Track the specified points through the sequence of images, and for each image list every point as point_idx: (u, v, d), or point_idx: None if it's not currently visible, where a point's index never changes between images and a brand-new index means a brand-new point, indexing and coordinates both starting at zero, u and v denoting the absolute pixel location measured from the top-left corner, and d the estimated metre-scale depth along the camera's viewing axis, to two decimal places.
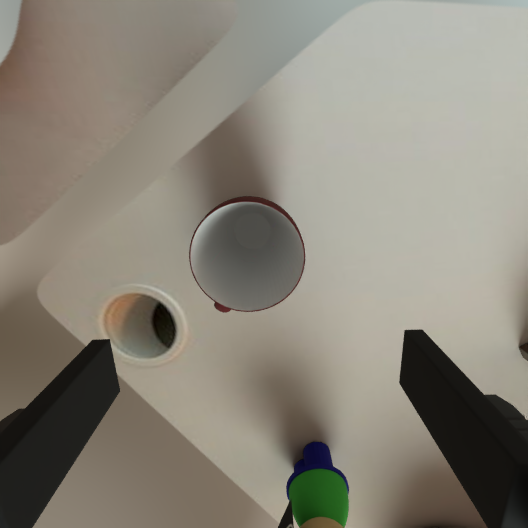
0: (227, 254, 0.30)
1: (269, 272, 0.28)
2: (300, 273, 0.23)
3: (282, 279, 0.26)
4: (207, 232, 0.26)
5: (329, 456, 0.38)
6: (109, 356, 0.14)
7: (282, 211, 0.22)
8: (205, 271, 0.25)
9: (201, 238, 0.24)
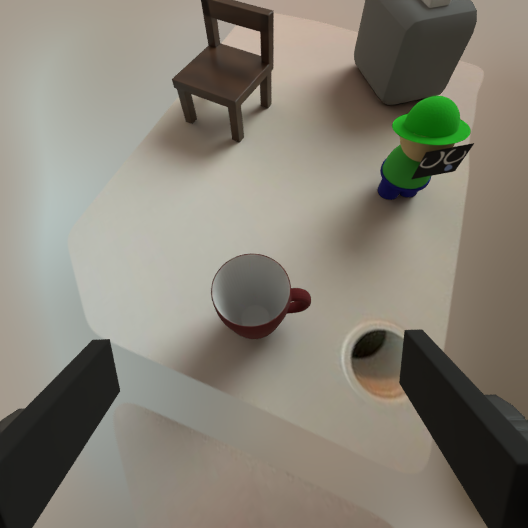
0: None
1: (267, 284, 0.38)
2: (243, 256, 0.34)
3: (261, 269, 0.36)
4: None
5: None
6: (109, 356, 0.14)
7: None
8: None
9: None
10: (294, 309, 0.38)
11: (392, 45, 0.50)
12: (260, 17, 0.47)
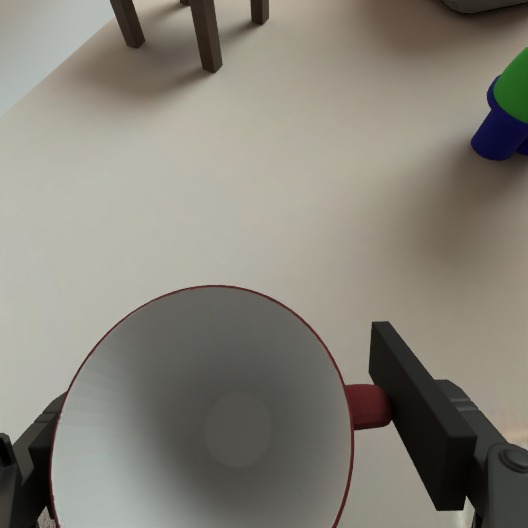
0: (290, 453, 0.14)
1: (266, 356, 0.15)
2: (185, 293, 0.11)
3: (247, 324, 0.13)
4: None
5: (481, 126, 0.26)
6: None
7: None
8: (317, 501, 0.10)
9: None
10: None
11: None
12: None
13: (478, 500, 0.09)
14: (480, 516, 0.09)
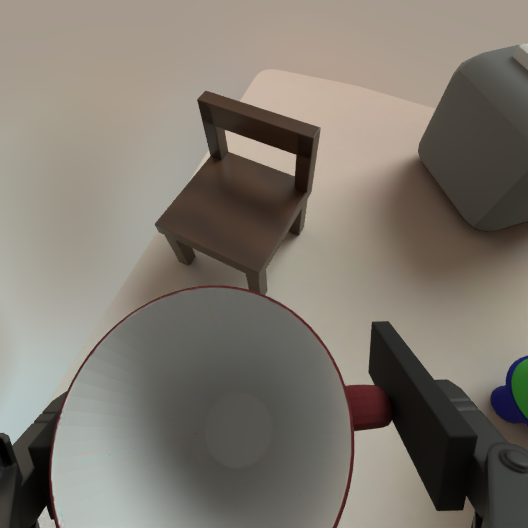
0: (290, 453, 0.14)
1: (266, 357, 0.15)
2: (185, 294, 0.11)
3: (247, 324, 0.13)
4: None
5: (500, 395, 0.30)
6: None
7: None
8: (317, 501, 0.10)
9: None
10: None
11: (507, 166, 0.31)
12: (298, 137, 0.28)
13: (478, 500, 0.09)
14: (480, 517, 0.09)
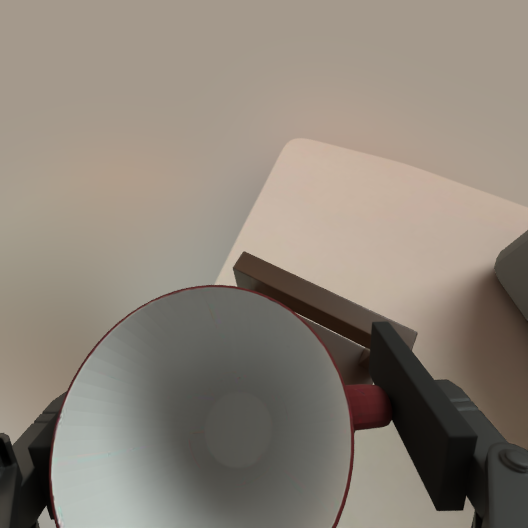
0: (290, 453, 0.14)
1: (266, 356, 0.15)
2: (185, 293, 0.11)
3: (247, 324, 0.13)
4: None
5: None
6: None
7: None
8: (317, 501, 0.10)
9: None
10: None
11: None
12: None
13: (478, 500, 0.09)
14: (480, 517, 0.09)
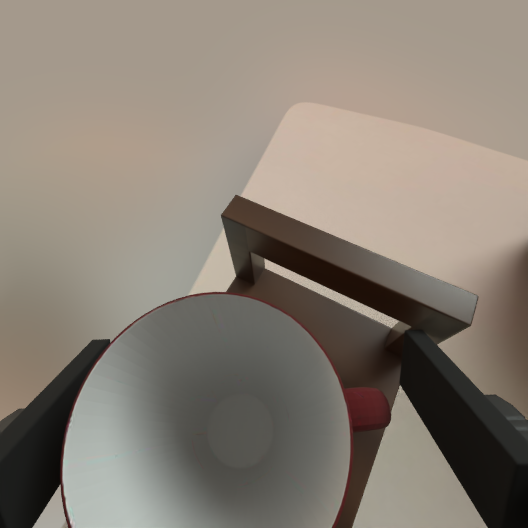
0: (291, 454, 0.15)
1: (268, 359, 0.15)
2: (189, 300, 0.11)
3: (249, 328, 0.13)
4: None
5: None
6: None
7: None
8: (317, 501, 0.10)
9: None
10: None
11: None
12: (430, 314, 0.14)
13: None
14: None
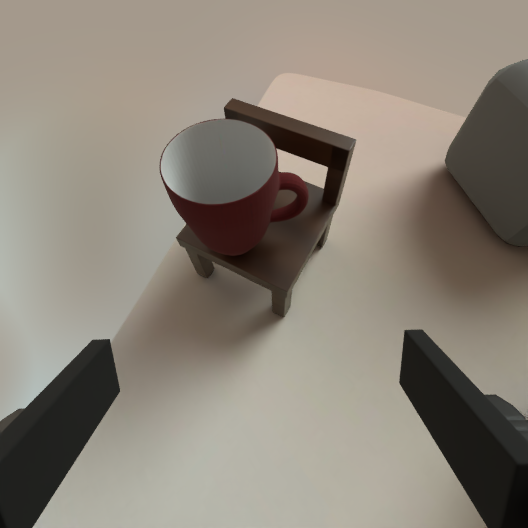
0: None
1: (249, 181, 0.28)
2: (209, 123, 0.24)
3: (238, 153, 0.26)
4: None
5: None
6: (109, 356, 0.14)
7: None
8: None
9: None
10: (286, 214, 0.28)
11: None
12: (332, 150, 0.27)
13: None
14: None
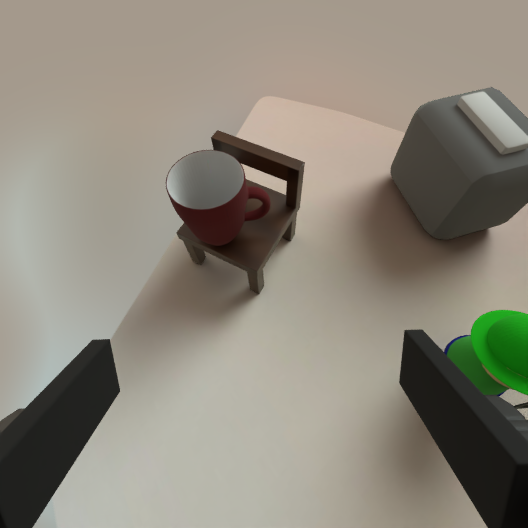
0: None
1: (229, 191, 0.38)
2: (199, 152, 0.34)
3: (220, 172, 0.37)
4: None
5: None
6: (109, 356, 0.14)
7: (168, 178, 0.33)
8: None
9: None
10: (256, 215, 0.38)
11: (450, 191, 0.40)
12: (287, 169, 0.37)
13: None
14: None
